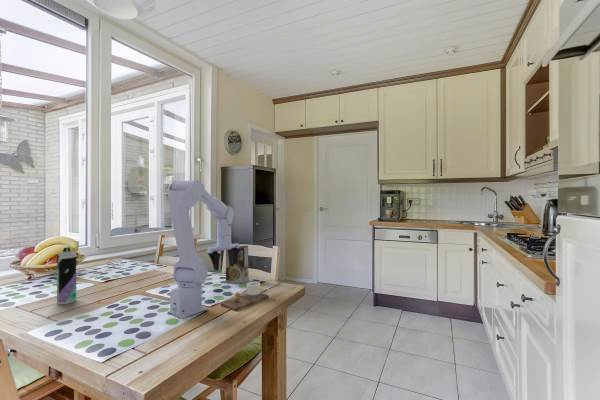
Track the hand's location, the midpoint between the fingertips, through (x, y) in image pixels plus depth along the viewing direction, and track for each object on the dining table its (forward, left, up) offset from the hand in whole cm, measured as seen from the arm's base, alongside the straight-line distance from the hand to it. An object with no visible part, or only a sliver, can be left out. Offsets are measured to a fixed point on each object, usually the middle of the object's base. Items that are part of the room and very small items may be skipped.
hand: (224, 267), depth 115 cm
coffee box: (+12, +6, -10) cm, 16 cm away
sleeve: (+1, -16, -8) cm, 19 cm away
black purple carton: (-43, +36, -10) cm, 57 cm away
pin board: (-3, -16, -9) cm, 19 cm away
